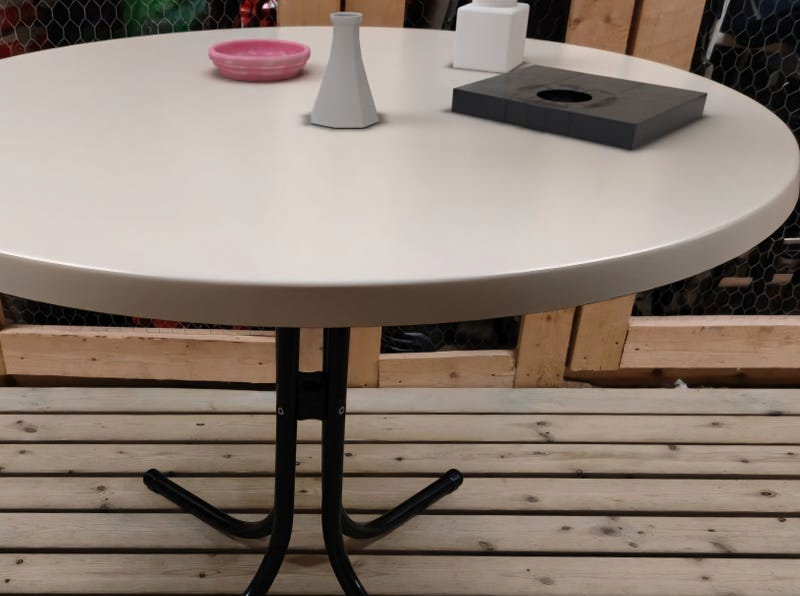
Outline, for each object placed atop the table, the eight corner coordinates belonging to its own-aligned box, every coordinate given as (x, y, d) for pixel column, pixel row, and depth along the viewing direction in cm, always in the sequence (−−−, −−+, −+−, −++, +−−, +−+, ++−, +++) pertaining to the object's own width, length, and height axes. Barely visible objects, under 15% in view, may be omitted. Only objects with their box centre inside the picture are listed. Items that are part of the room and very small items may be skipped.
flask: (387, 115, 86) (392, 10, 81) (369, 133, 81) (373, 22, 75) (321, 109, 88) (321, 7, 83) (299, 127, 82) (298, 18, 77)
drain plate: (701, 118, 85) (707, 92, 84) (630, 152, 75) (635, 124, 74) (531, 86, 97) (534, 64, 96) (450, 113, 87) (452, 88, 86)
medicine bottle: (523, 63, 108) (536, -40, 101) (506, 74, 102) (519, -35, 96) (470, 58, 110) (479, -43, 104) (451, 68, 105) (460, -38, 99)
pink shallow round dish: (290, 60, 109) (290, 34, 108) (325, 80, 100) (325, 52, 98) (198, 68, 106) (196, 41, 104) (225, 89, 96) (224, 60, 94)
